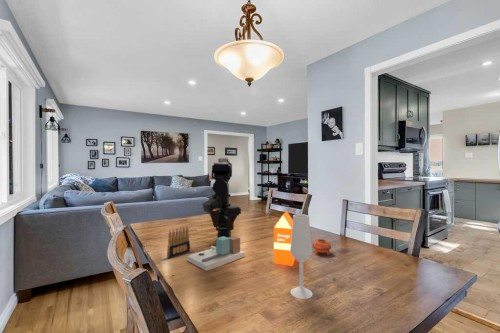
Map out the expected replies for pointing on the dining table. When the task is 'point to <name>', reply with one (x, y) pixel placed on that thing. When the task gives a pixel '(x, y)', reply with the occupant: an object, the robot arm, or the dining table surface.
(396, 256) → the dining table surface
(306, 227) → the champagne flute
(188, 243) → the ammunition clip
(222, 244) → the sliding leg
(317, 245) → the pot
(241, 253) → the white base plate
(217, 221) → the robot arm
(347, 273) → the dining table surface
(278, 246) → the orange juice
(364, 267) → the dining table surface
